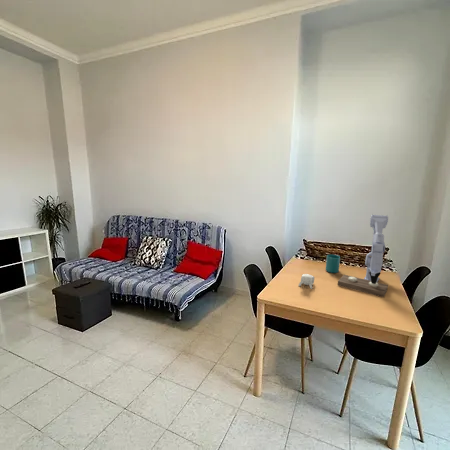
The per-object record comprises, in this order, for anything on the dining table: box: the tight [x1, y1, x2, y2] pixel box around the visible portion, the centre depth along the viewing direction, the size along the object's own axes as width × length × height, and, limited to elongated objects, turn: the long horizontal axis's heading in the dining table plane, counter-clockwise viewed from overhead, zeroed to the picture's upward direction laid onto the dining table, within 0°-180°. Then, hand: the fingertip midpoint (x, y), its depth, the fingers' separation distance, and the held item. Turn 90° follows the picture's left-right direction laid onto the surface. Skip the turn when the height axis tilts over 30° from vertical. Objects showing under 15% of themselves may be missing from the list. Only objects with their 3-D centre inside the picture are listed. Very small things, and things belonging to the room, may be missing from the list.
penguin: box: [298, 273, 315, 290], centre depth 170 cm, size 9×8×15 cm
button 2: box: [369, 282, 379, 287], centre depth 166 cm, size 5×5×4 cm
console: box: [337, 274, 389, 298], centre depth 170 cm, size 14×26×3 cm, turn 51°
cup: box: [325, 254, 341, 274], centre depth 197 cm, size 9×12×11 cm
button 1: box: [348, 276, 358, 282], centre depth 173 cm, size 5×5×4 cm
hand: (373, 283), depth 165 cm, fingers closed, pressing on button 2
